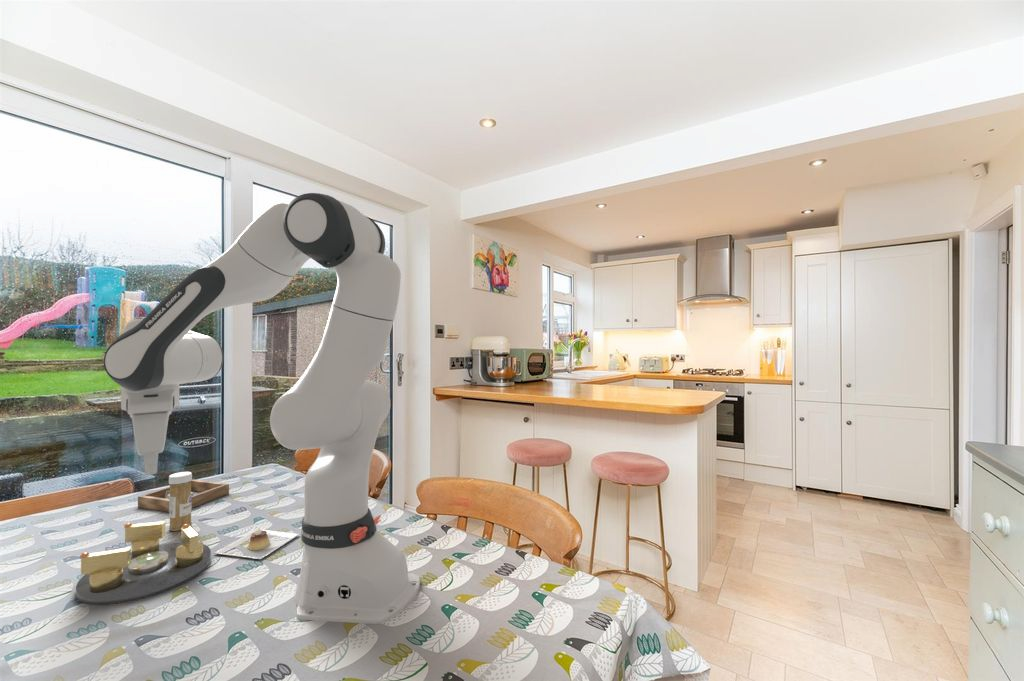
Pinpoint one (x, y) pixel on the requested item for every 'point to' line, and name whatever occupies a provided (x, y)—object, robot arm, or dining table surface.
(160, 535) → the knob far
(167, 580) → the plate
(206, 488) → the wooden tray
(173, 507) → the sprinkles bottle
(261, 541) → the dessert
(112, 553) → the knob left
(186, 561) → the knob near
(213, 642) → the dining table surface
